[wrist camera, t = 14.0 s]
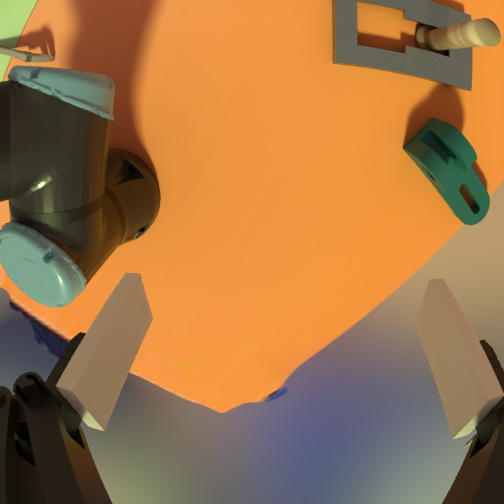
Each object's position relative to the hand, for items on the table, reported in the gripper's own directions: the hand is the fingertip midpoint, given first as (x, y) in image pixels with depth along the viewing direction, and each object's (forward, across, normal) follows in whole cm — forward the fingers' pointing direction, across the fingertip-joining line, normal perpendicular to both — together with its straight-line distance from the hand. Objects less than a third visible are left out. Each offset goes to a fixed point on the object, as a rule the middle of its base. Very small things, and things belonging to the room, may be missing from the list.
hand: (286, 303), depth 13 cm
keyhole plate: (+31, +17, +18) cm, 40 cm away
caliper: (+32, -44, +23) cm, 60 cm away
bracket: (+31, +26, -2) cm, 41 cm away
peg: (+31, +21, +18) cm, 41 cm away
